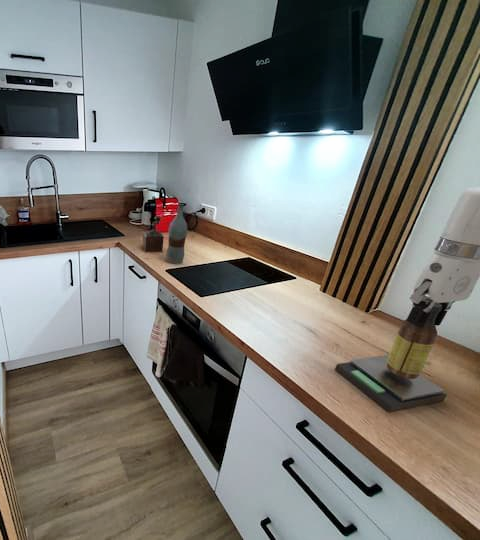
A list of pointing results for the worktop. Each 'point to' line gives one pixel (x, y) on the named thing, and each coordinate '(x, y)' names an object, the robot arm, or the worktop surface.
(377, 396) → the scale
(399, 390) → the scale pan
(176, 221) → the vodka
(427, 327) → the sauce bottle
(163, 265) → the worktop surface
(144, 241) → the pepper mill
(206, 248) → the worktop surface
